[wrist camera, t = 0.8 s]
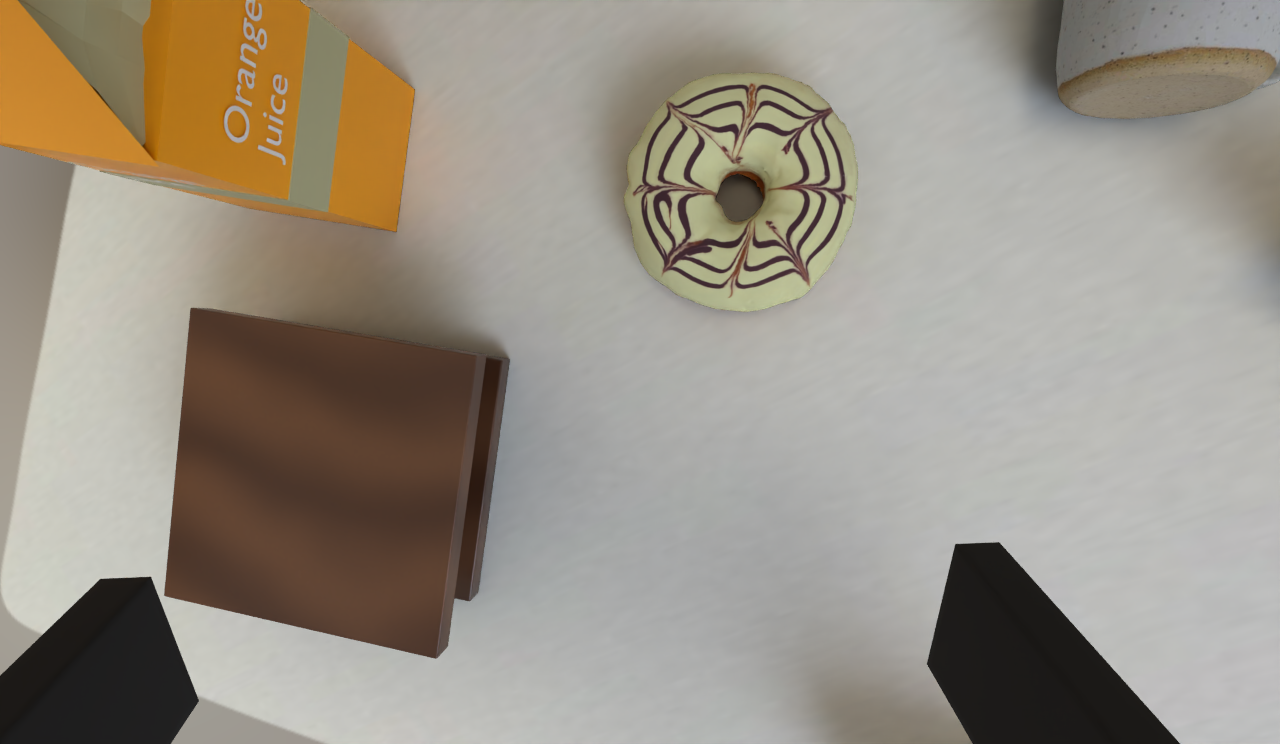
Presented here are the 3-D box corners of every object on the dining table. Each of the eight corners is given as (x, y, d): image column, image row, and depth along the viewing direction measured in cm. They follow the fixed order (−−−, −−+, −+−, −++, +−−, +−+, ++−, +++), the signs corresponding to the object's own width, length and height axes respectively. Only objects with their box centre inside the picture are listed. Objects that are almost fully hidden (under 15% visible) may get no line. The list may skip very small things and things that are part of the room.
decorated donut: (626, 304, 33) (612, 301, 29) (641, 90, 32) (630, 58, 28) (834, 319, 31) (848, 318, 28) (856, 96, 31) (874, 63, 27)
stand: (280, 311, 35) (190, 307, 30) (520, 351, 34) (476, 355, 28) (254, 553, 37) (163, 596, 31) (486, 603, 35) (436, 659, 29)
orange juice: (264, 67, 35) (-352, -283, 15) (416, 87, 34) (-29, -262, 14) (248, 212, 35) (-361, 62, 16) (397, 235, 34) (-54, 107, 14)
